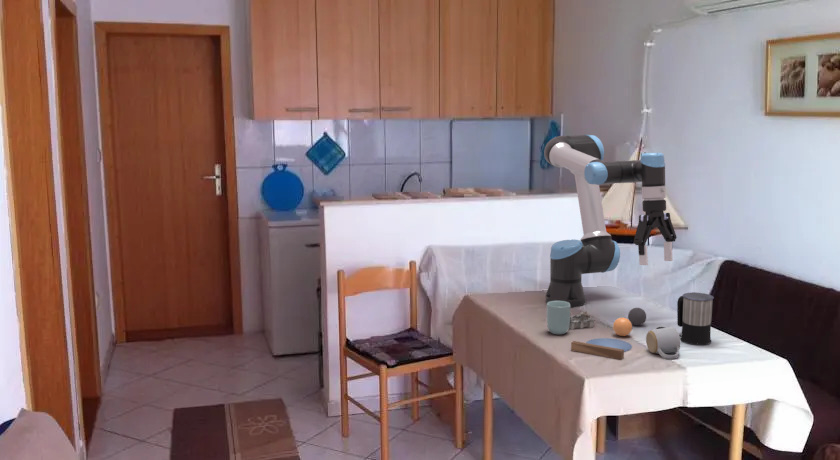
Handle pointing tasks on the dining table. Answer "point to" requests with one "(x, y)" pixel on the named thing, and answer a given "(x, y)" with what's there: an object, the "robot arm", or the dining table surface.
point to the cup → (558, 316)
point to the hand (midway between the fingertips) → (656, 263)
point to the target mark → (611, 343)
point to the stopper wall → (597, 350)
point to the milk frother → (694, 317)
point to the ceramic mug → (664, 342)
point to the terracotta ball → (622, 326)
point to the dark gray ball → (637, 316)
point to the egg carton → (581, 321)
